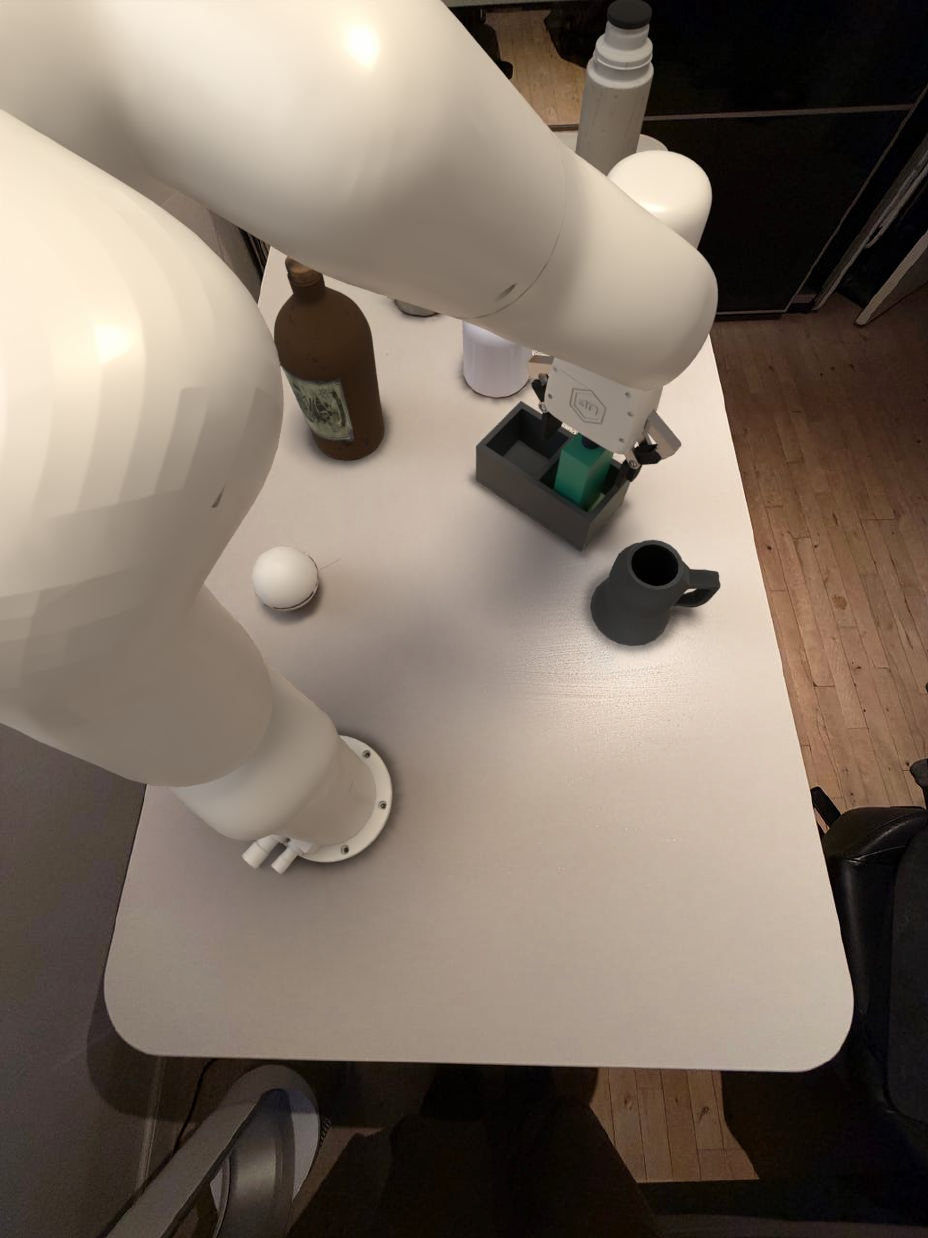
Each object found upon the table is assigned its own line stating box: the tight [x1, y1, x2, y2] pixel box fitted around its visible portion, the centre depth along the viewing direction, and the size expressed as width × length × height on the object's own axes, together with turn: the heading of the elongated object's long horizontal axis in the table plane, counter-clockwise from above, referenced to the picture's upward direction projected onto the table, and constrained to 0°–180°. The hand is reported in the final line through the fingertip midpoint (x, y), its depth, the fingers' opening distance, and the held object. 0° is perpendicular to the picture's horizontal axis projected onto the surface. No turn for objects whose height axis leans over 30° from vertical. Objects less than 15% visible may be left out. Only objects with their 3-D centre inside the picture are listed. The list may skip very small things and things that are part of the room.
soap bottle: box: [461, 320, 533, 398], centre depth 76 cm, size 9×9×25 cm
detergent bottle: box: [554, 432, 615, 512], centre depth 72 cm, size 6×4×14 cm, turn 140°
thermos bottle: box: [574, 0, 654, 177], centre depth 84 cm, size 8×8×28 cm
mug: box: [589, 539, 721, 647], centre depth 68 cm, size 12×9×11 cm
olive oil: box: [273, 255, 385, 461], centre depth 72 cm, size 11×11×25 cm
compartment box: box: [475, 400, 632, 552], centre depth 77 cm, size 9×16×7 cm, turn 50°
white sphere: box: [250, 545, 341, 612], centre depth 72 cm, size 10×7×7 cm
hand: (587, 455), depth 69 cm, fingers open, 9 cm apart
